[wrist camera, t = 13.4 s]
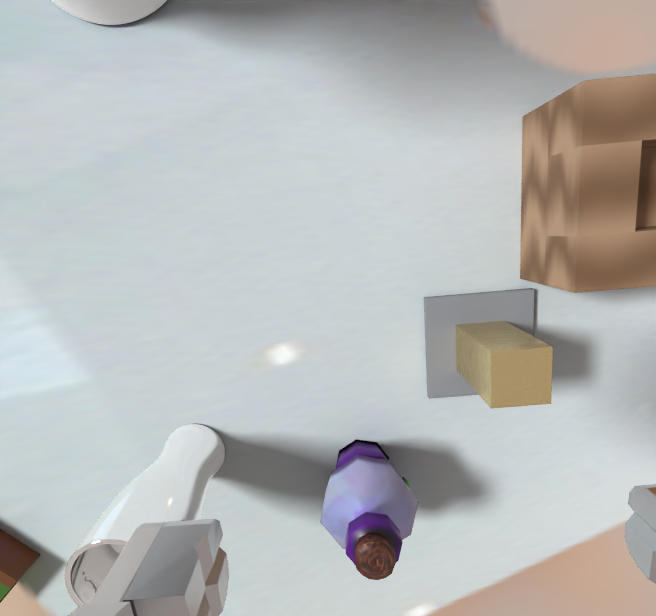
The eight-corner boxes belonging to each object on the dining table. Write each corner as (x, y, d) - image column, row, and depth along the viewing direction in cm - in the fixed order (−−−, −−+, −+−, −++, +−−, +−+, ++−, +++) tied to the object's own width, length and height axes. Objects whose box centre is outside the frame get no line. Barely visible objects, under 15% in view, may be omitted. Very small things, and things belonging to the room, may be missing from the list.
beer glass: (211, 409, 38) (137, 522, 23) (240, 466, 39) (187, 607, 25) (150, 433, 39) (40, 558, 24) (181, 488, 40) (94, 639, 25)
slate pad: (424, 297, 36) (425, 298, 35) (530, 288, 35) (534, 289, 35) (427, 395, 38) (429, 398, 37) (528, 387, 37) (531, 390, 37)
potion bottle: (411, 490, 40) (445, 599, 28) (331, 507, 40) (332, 621, 29) (394, 417, 38) (423, 501, 26) (311, 435, 39) (303, 526, 27)
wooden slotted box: (522, 116, 32) (584, 80, 25) (689, 100, 32) (805, 58, 24) (520, 278, 35) (574, 292, 27) (673, 265, 35) (772, 276, 27)
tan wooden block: (455, 324, 36) (490, 351, 28) (503, 320, 35) (552, 346, 28) (456, 369, 36) (491, 408, 29) (503, 366, 36) (551, 403, 28)
